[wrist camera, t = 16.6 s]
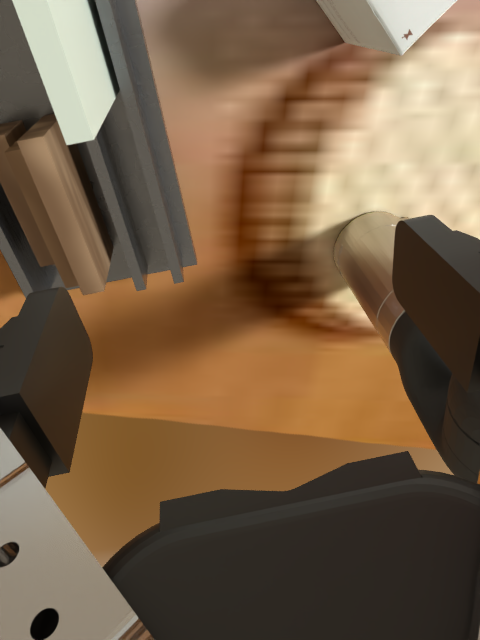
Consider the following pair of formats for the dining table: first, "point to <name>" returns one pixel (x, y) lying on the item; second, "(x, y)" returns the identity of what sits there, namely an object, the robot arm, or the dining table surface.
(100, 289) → the offcut bundle
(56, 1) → the tall sheet
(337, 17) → the supplement box
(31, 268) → the rack
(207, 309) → the dining table surface
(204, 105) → the dining table surface
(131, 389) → the dining table surface
